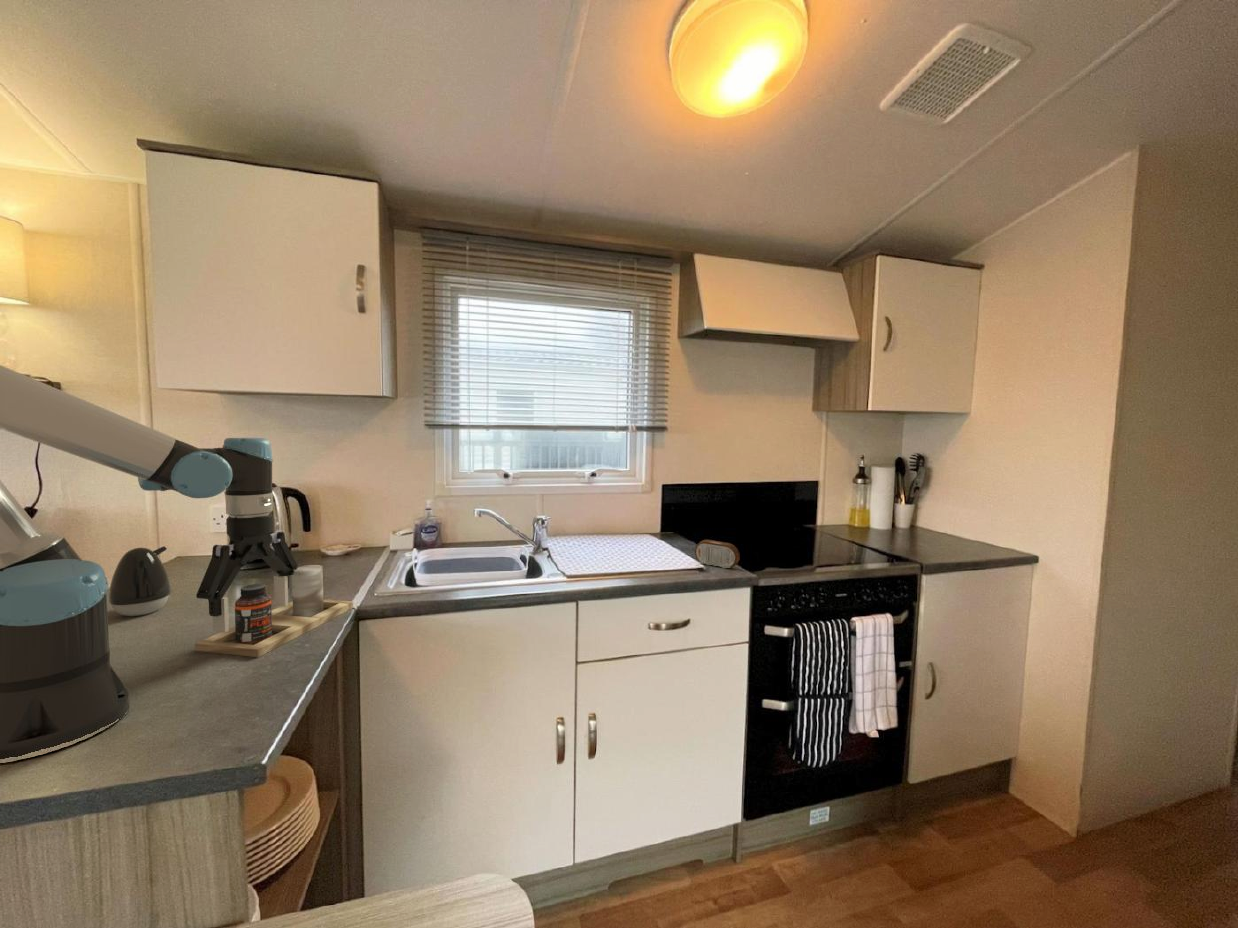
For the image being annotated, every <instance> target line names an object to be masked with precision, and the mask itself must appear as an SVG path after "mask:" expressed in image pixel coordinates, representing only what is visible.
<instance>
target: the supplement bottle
mask: <svg viewBox="0 0 1238 928" xmlns="http://www.w3.org/2000/svg"><path fill="white" fill-rule="evenodd" d="M271 611H272V597H271V595H270V594H267V593H266V584H264V583H263V584H262V583H254V584H248V585H244V586H242V587H240V596H239V598H237V599H236V601H234V623H235V624H234V626H235V639H234V640H235V643H238V644H248V645H255V644H257V643H259V642H261V641H263V640H265V639H267V638H269V637H271V636H273V631H272V612H271Z"/></svg>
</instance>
